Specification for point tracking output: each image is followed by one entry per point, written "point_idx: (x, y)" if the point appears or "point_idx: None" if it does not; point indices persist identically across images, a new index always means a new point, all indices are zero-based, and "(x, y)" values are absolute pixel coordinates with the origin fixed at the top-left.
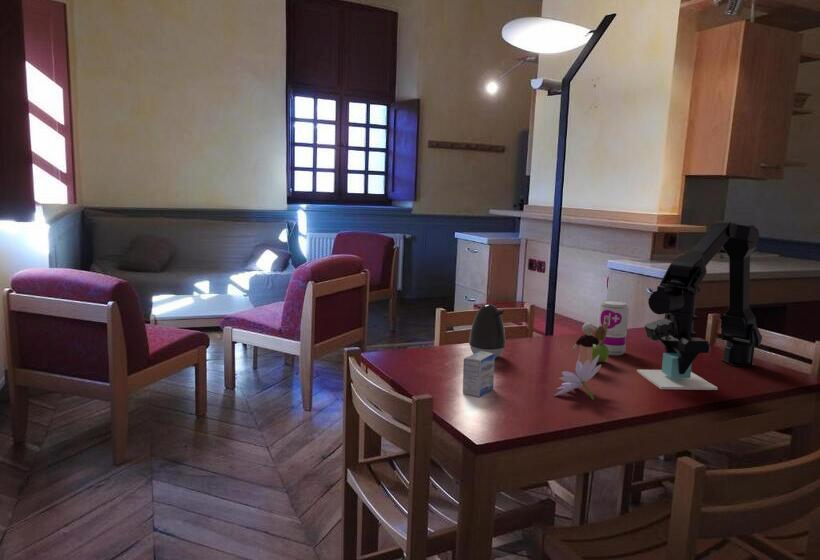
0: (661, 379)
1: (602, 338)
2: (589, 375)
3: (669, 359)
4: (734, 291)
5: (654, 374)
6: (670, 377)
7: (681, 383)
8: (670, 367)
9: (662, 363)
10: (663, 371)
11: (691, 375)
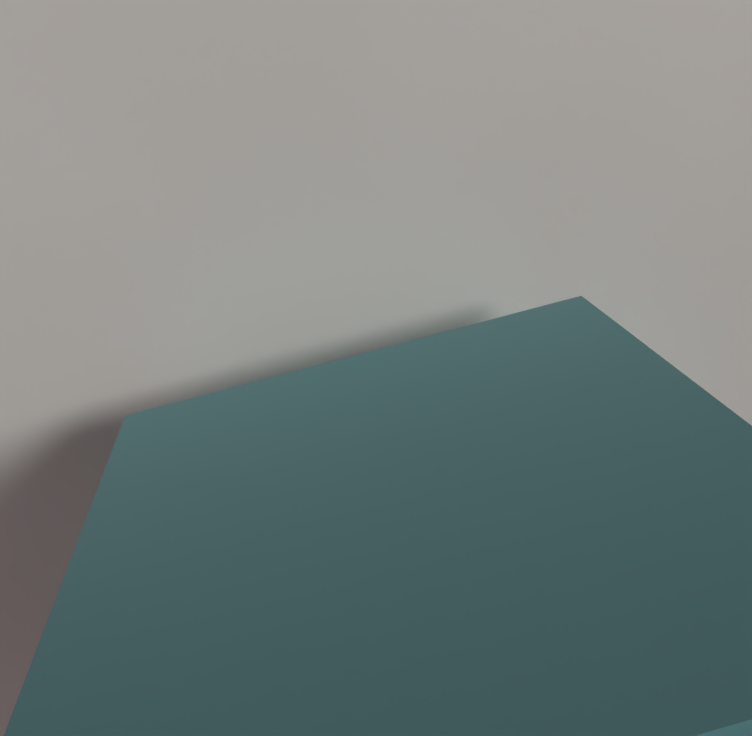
0: (198, 212)
1: None
2: None
3: (259, 717)
4: None
5: (561, 125)
6: (134, 413)
7: (57, 551)
8: (144, 546)
9: (679, 383)
10: (502, 331)
11: None
